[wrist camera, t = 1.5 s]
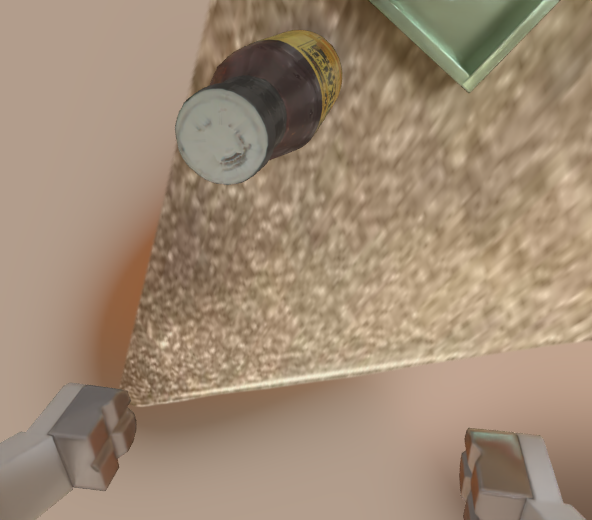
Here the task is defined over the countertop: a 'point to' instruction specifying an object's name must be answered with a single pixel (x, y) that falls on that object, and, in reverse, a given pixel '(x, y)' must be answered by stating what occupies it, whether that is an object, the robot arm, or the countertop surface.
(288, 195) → the countertop surface
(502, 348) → the countertop surface
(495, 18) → the green shallow open box
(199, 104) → the sauce bottle
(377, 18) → the countertop surface
